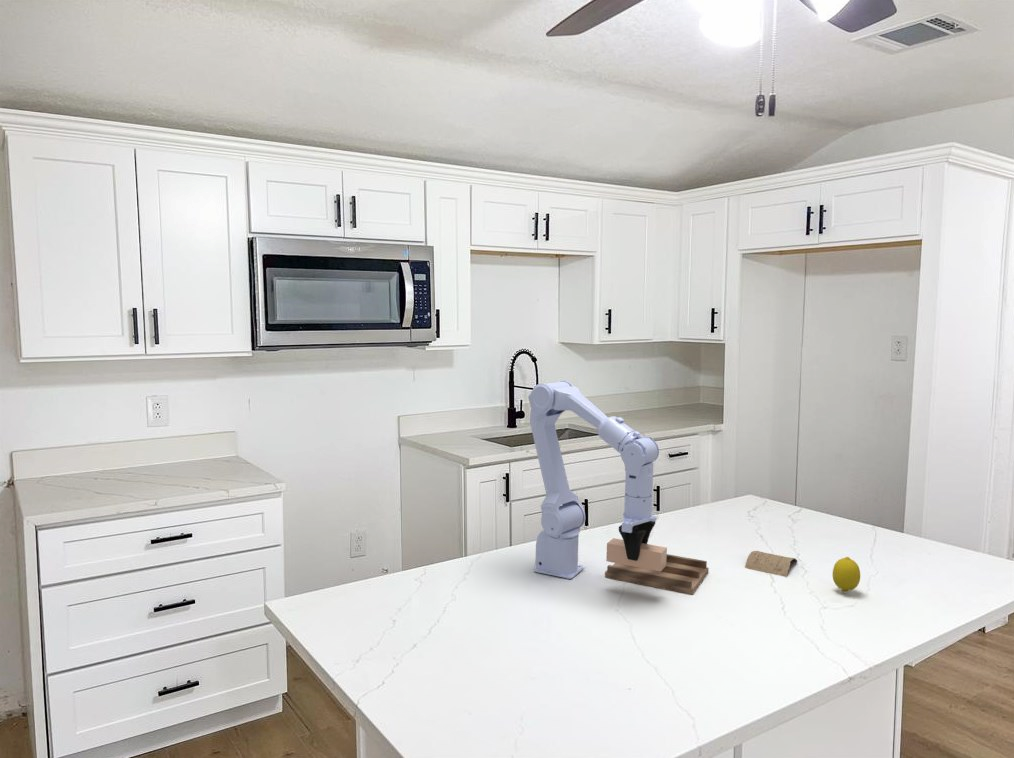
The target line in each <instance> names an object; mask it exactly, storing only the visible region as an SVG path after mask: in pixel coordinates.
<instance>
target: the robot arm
mask: <svg viewBox="0 0 1014 758" xmlns="http://www.w3.org/2000/svg"><path fill="white" fill-rule="evenodd" d="M532 388H533V389H532V390H531V392H530V393H529V395H528V402H529V406H530V413H529V414H530V415H529V425H530V428H531V432H532V437H533V442H534V446H535V450H536V454H537V455H536V456H537V459H538V463H539V468H540V473H541V476H542V477H541V478H542V481H543V484H544V485H543V486H544V490H545V494H546V495H545V497H544V499H543V501H542V502H541V504H540V509H541V518H540V522H541V523H540V524H541V527H542V529H543V530H541V531H540V532H539V533H538V535H537V538H536V540H535V541H536V542H535V565H534V566H535V568H534V569H533V572H535V573H538V574H544V575H549V576H554V577H559V578H564V579H569V580H572V579H573V578H574V577H576V576H577V575H578V574H579V573H580V572H582V571H583V570H585V567H584V566H583V565H579V536H580V535H579V534H580V532H581V528H582V527H583V526H584V524H585V522H586V511H585V510H584V507H583V506H582V505H581V503H580V500H579V496H578V495H576V493H575V492H573V491H572V490H571V489H570V485H569V481H568V477H567V472H566V469H565V464H564V460H563V455H562V451H561V447H560V441H559V438H558V433H557V429H556V426H555V425H556V422H557V421H558V419H559V418H560V416H561V415H562V414H563V413H565V411H569V412H573V413H574V414H575V415H577V416H578V417H580V418H581V419H582V420H584V421H585V422H587V423H588V424H589V425H591V426H592V427H594V428H596V429H597V433H598V437H599V438H600V439H601V440H603V442H605V443H606V444H608V445H609V446H610V447H612V448H613V449H614V450H615V451H617V452H618V453H619V454H620V458H621V460H622V462H623V464H624V471H625V481H624V482H625V483H624V484H625V485H624V505H623V506H624V507H623V508H624V510H623V514H622V522H621V524H620V525H619V526H618V532H619V534H620V536H621V538H622V540H623V541H624V544H625V549H626V554H627V558H628V559H629V560H634V561H637V560H638V557H639V553H640V547H641V543H644V544H649V538H650V535H651V532H652V531H653V528H654V527H655V524H656V521H657V519H658V518H657V516H656V515H654V514H653V506H652V505H653V503H652V502H653V487H654V486H653V484H654V462H656V460H658V458H659V455H660V448H659V445H658V443H657V442H656V440H654V439H653V437H652V436H648V435H644V436H643V435H641V432H639V431H638V430H636V431H635V430H634V429H633V428H632V427H631V426H629V425H628V424H626V423H625V419H624V418H623V417H621V416H619V417H617V416H615V415H614V416H613V415H612V416H609V417H608V416H607V415H606V414H605V413H604V412H602V410H600V409H599V408H598V407H597V406H596V405H595V404H593V403H592V402H591V401H590V400H589V399H587V397H586V396H584V395H583V394H582V393H581V392H580V389H579V388H578V387H577V386H574V385H573V384H572V383H571V382H569V381H567V380H560V381H556V382H555V381H554V382H548V383H543V382H542V383H538V384H536V385H535V386H534V387H532Z"/></svg>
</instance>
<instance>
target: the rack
mask: <svg viewBox="0 0 1014 758" xmlns="http://www.w3.org/2000/svg"><path fill="white" fill-rule="evenodd" d="M707 563H708V562H707V560H703V559H702V560H701V559H698V558H697V559H696V558H690V557H686V556H679V555H674V554H670V553H669V554H668V553H667V558H666V566H665V568H664V569H663V570H662V571H661V572H660V571H655V570H650V569H644V568H639V567H634V566H629V565H623V564H618V563H613V565H611V564H609V565H607V568H606V571H605V572H604V577H605V578H606V579H612V580H616V581H622V582H627V583H632V584H637V585H641V586H642V585H643V586H646V587H652V588H656V589H662V590H667V591H673V592H677V593H683V594H687V595H694V594H695V592H696V591H697V590H698V588H699V587H700V586H701V584H702V582H703V581H704V579H705V578H706V577H707V575H708V574H709V569H710V568H709V567H708V566H707V565H708V564H707Z"/></svg>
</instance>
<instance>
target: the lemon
mask: <svg viewBox="0 0 1014 758" xmlns="http://www.w3.org/2000/svg"><path fill="white" fill-rule="evenodd" d="M832 579H833V582H834V584H835V586H836V587H838V589H840V590H842V592H843V593H848V592H849V591H853V590H854V589H856V588H858V586H859V584H860V581H861V571H860V567H859V564H858V563H857V562H856V561H855V560H854V559H852V558H850V556H845V557H843V558H840V559H838V560H837V561H836V562H835V564H834V565H833V568H832Z"/></svg>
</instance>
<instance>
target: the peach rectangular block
mask: <svg viewBox="0 0 1014 758" xmlns="http://www.w3.org/2000/svg"><path fill="white" fill-rule="evenodd" d="M667 552H668V547H665V546H661V545H660V546H659V545H655V544H650V543H647V544H644V543H641V547H640V553H639V557H638V560H637V561H634V560H629V559H628V558H627V554H626V549H625V544H624V541H623V539H621V538H612V539H611V540H609V541H608V542H607V543H606V559H605V561H606V562H609V563H613V564H615V563H618V564H623V565H629V566H634V567H639V568H644V569H650V570H655V571H660V572H661V571H662V570H663V569H664V568H665V566H666V558H667V554H668V553H667Z"/></svg>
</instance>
